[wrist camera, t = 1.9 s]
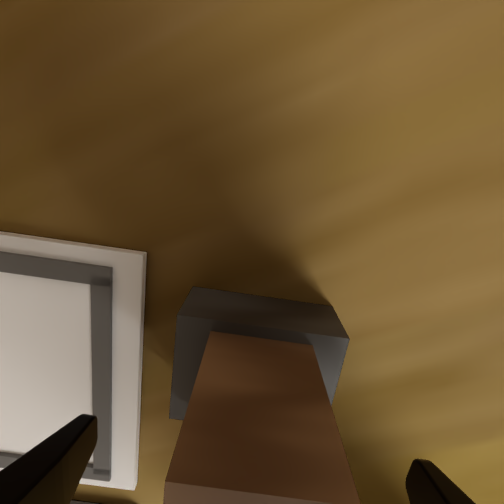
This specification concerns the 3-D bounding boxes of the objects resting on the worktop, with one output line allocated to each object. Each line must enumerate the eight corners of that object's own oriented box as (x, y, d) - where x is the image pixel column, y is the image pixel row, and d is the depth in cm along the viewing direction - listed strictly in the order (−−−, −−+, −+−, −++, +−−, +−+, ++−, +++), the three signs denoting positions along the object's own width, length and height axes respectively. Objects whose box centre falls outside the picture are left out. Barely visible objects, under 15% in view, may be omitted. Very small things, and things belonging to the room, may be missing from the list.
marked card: (146, 252, 12) (140, 256, 11) (137, 482, 15) (132, 494, 15) (-150, 209, 12) (-172, 211, 11) (-89, 453, 15) (-103, 464, 15)
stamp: (331, 305, 12) (434, 498, 5) (311, 391, 14) (369, 642, 6) (193, 286, 12) (98, 454, 5) (185, 373, 13) (99, 608, 6)
